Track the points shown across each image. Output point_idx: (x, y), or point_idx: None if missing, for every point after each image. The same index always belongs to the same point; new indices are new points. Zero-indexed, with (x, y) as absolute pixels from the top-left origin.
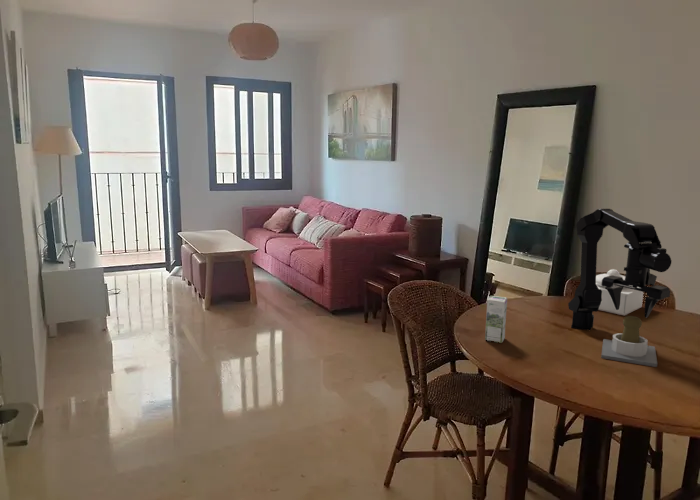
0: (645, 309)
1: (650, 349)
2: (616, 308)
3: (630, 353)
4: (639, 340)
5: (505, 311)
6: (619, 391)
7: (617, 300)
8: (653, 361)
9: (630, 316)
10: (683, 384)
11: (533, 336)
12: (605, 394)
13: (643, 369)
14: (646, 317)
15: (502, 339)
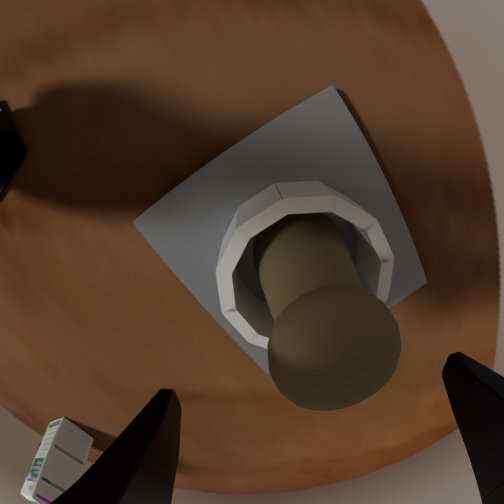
0: (470, 443)
1: (346, 147)
2: (176, 422)
3: None
4: (352, 261)
5: (55, 481)
6: (390, 434)
7: (159, 490)
8: (413, 274)
9: (325, 388)
10: (484, 314)
11: (51, 368)
12: (376, 451)
13: (398, 327)
14: (451, 366)
15: (89, 442)
